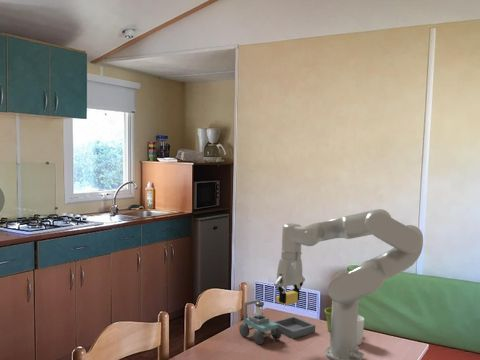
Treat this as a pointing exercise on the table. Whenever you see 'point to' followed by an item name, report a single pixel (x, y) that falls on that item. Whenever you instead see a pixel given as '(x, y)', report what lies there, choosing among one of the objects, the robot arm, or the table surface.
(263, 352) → the table surface
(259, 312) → the pin
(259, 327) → the trolley
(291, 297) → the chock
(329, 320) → the plant pot
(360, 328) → the white cup
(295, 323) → the tray
